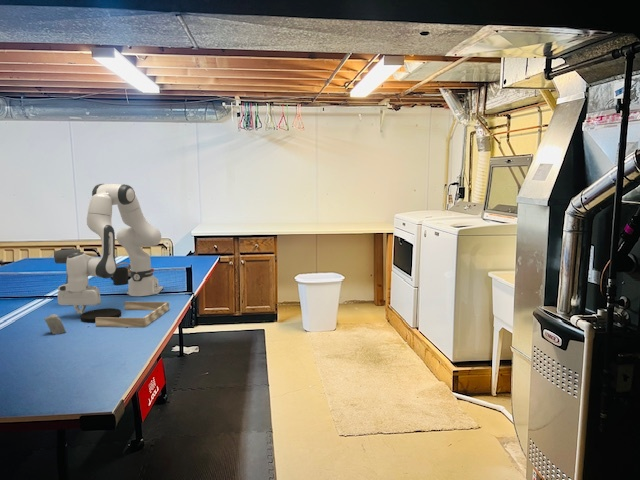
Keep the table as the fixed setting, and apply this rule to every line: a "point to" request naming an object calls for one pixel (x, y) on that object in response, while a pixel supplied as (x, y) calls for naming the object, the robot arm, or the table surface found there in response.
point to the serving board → (125, 267)
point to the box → (135, 322)
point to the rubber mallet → (64, 256)
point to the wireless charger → (100, 314)
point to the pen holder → (120, 276)
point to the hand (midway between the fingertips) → (80, 313)
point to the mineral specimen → (55, 324)
